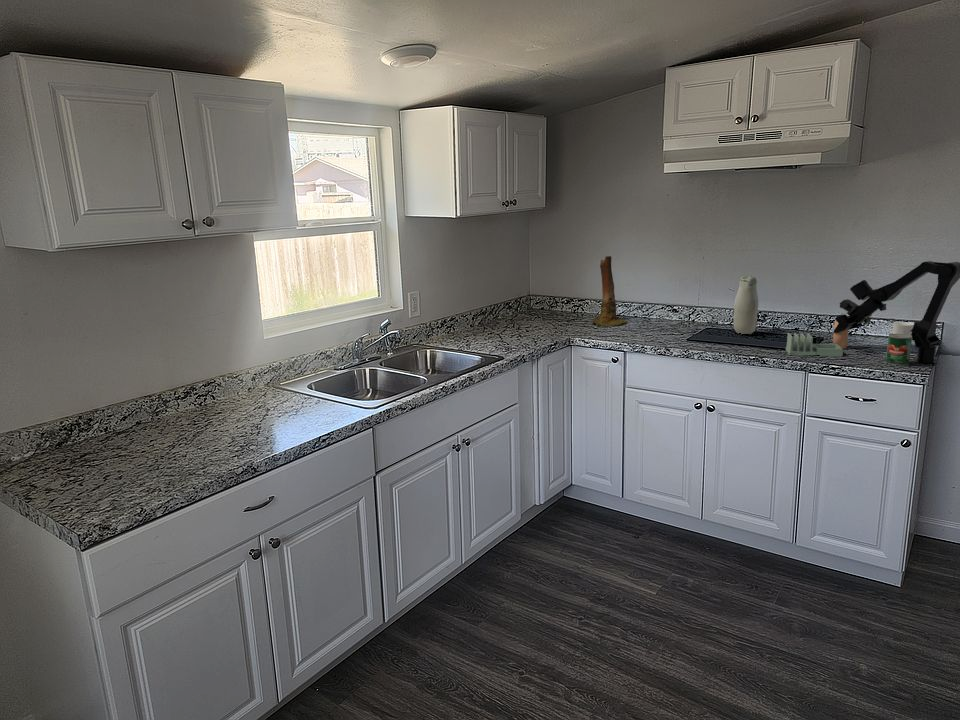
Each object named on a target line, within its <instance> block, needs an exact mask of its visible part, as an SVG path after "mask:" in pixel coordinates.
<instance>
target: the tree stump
mask: <svg viewBox="0 0 960 720" xmlns="http://www.w3.org/2000/svg"><path fill="white" fill-rule="evenodd" d="M599 268H600V274H601V285H602V286H601V287H602V289H601V290H602V291H601V293H602V300H601V304H600V315H599V316H597V317H595V318H593V319H592V324H595V326H598V327H614V326H622V325H624V324H628V320H626V319H623V318H620V317H619V316H617V315H618V313H617V302H616V301H617V300H616V296H615V283H614V279H613V277H614V276H613V272H612V256H611V255H610V256H609V255H608V256H607V255H606V256H605V258H604V259H600V264H599Z"/></svg>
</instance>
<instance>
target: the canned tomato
mask: <svg viewBox="0 0 960 720" xmlns="http://www.w3.org/2000/svg"><path fill="white" fill-rule="evenodd" d="M887 338H888V339H887V344H886V346H887V347H886V355H885V362H886V364H887V363H888V364H887V365H890V364H891V366H896V365H900V366H899V367H905V366H904V365H907V366H909V365H910V359H911V357H910V356H911V348H912V341H913V339H912V336H910V335H906V334H893V333H890V334H888V337H887ZM901 365H902V366H901Z"/></svg>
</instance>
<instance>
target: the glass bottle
mask: <svg viewBox="0 0 960 720" xmlns="http://www.w3.org/2000/svg"><path fill="white" fill-rule="evenodd" d="M757 281H758V280H757V278H756V277H755V276H753V275H750V274H749V275H743V276H741V278H740V280H739V282H738V283H739V286H738V288H737V290H738V291H737V293H736V295H735V298H734V306H733V307H734V308H733V329H734V331H735V332H736V333H737V334H739V333H741V334H740V335H742V334H749V335H752V334H753V333H754V332H755V331H756V328H757V323H758V312H759V311H758V310H759V295H758V292H757V291H758V289H757Z"/></svg>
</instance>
